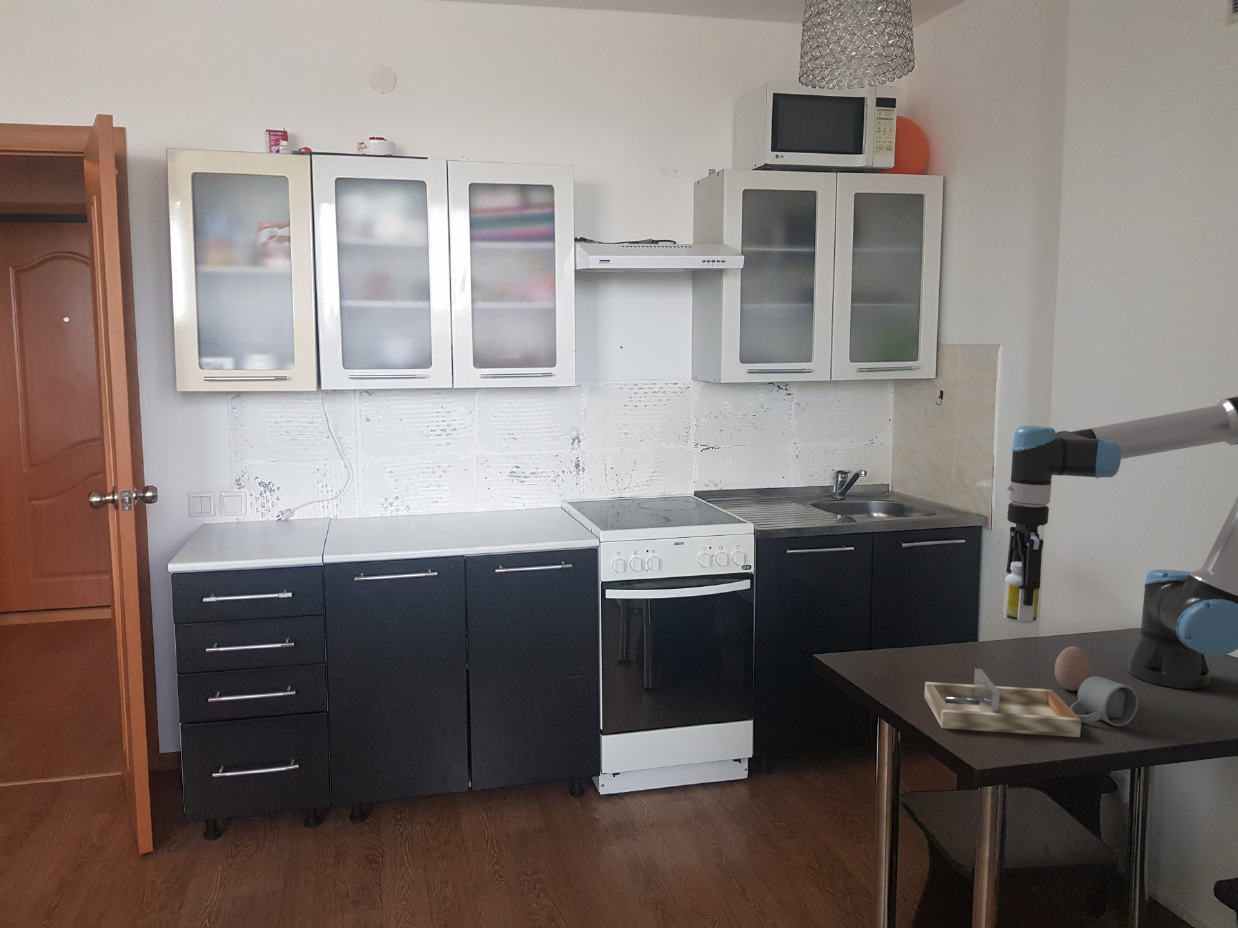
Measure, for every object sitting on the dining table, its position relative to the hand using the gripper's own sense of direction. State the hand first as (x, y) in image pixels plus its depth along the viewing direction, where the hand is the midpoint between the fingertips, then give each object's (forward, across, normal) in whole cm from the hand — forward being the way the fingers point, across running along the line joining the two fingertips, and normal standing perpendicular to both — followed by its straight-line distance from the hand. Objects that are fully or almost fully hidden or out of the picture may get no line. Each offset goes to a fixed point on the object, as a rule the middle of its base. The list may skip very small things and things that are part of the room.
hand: (1019, 614), depth 195 cm
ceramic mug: (+15, +16, +11) cm, 25 cm away
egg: (+15, 0, +11) cm, 19 cm away
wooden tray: (+15, +18, -8) cm, 24 cm away
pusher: (+14, +18, -14) cm, 26 cm away
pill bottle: (+1, 0, 0) cm, 1 cm away
